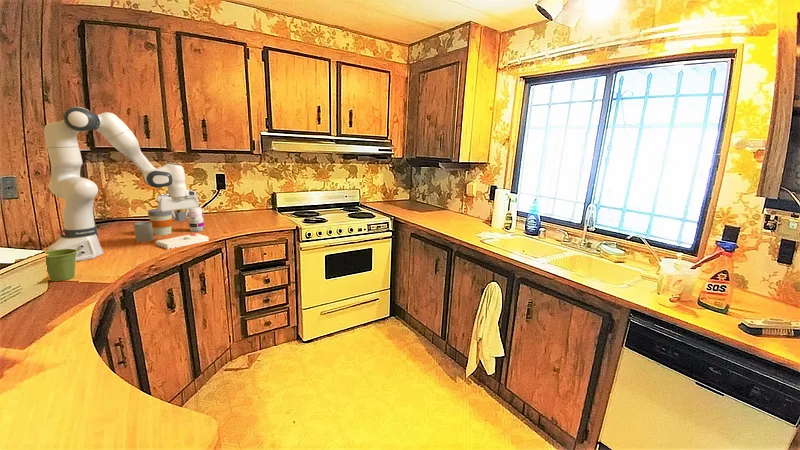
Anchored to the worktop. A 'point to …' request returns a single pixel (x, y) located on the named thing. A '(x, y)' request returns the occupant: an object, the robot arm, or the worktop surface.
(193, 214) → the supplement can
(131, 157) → the robot arm
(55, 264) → the plant pot
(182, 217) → the plug
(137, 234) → the cup
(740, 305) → the worktop surface
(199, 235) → the socket plate
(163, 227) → the reusable coffee cup
